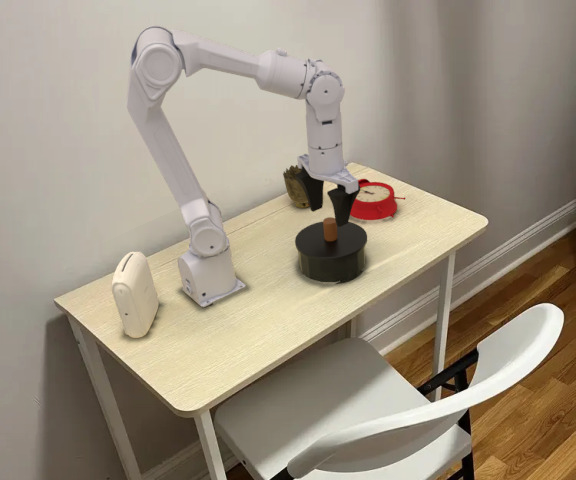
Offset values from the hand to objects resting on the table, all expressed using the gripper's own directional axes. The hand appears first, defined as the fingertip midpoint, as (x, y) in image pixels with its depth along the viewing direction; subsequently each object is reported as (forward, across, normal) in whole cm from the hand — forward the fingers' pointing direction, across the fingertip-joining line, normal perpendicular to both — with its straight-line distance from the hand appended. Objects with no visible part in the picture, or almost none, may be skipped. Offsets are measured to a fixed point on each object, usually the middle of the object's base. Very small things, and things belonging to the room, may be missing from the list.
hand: (329, 216), depth 122 cm
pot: (+10, 0, 0) cm, 10 cm away
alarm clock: (+11, +13, -19) cm, 25 cm away
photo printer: (+11, +9, +35) cm, 38 cm away
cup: (+11, +23, -10) cm, 27 cm away
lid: (+5, 0, 0) cm, 5 cm away
